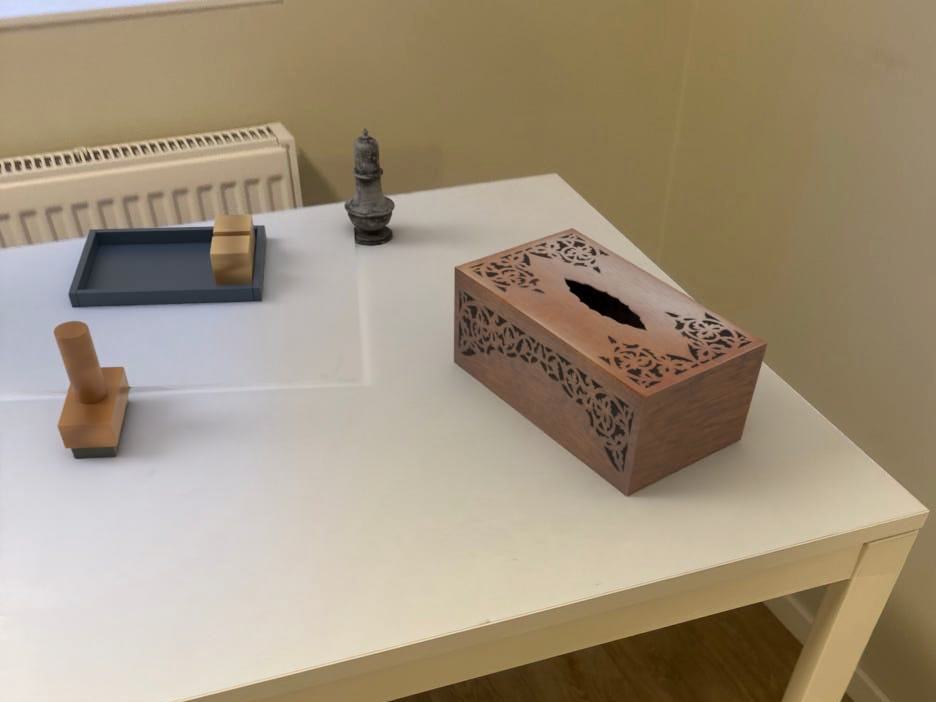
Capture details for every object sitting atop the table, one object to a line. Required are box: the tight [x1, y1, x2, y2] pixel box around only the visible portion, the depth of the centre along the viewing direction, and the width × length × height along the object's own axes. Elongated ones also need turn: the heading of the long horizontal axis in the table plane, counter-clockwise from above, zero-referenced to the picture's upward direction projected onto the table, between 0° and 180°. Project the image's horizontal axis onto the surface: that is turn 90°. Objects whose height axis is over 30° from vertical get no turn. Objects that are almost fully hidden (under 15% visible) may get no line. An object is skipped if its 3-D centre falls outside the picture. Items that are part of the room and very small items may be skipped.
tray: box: [67, 224, 267, 308], centre depth 106 cm, size 20×15×2 cm
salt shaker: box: [344, 127, 396, 246], centre depth 111 cm, size 6×6×12 cm
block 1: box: [213, 214, 256, 264], centre depth 107 cm, size 4×4×4 cm
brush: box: [53, 320, 131, 459], centre depth 84 cm, size 4×9×10 cm, turn 7°
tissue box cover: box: [453, 227, 768, 497], centre depth 90 cm, size 26×14×10 cm, turn 37°
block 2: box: [210, 236, 254, 286], centre depth 104 cm, size 4×4×4 cm
